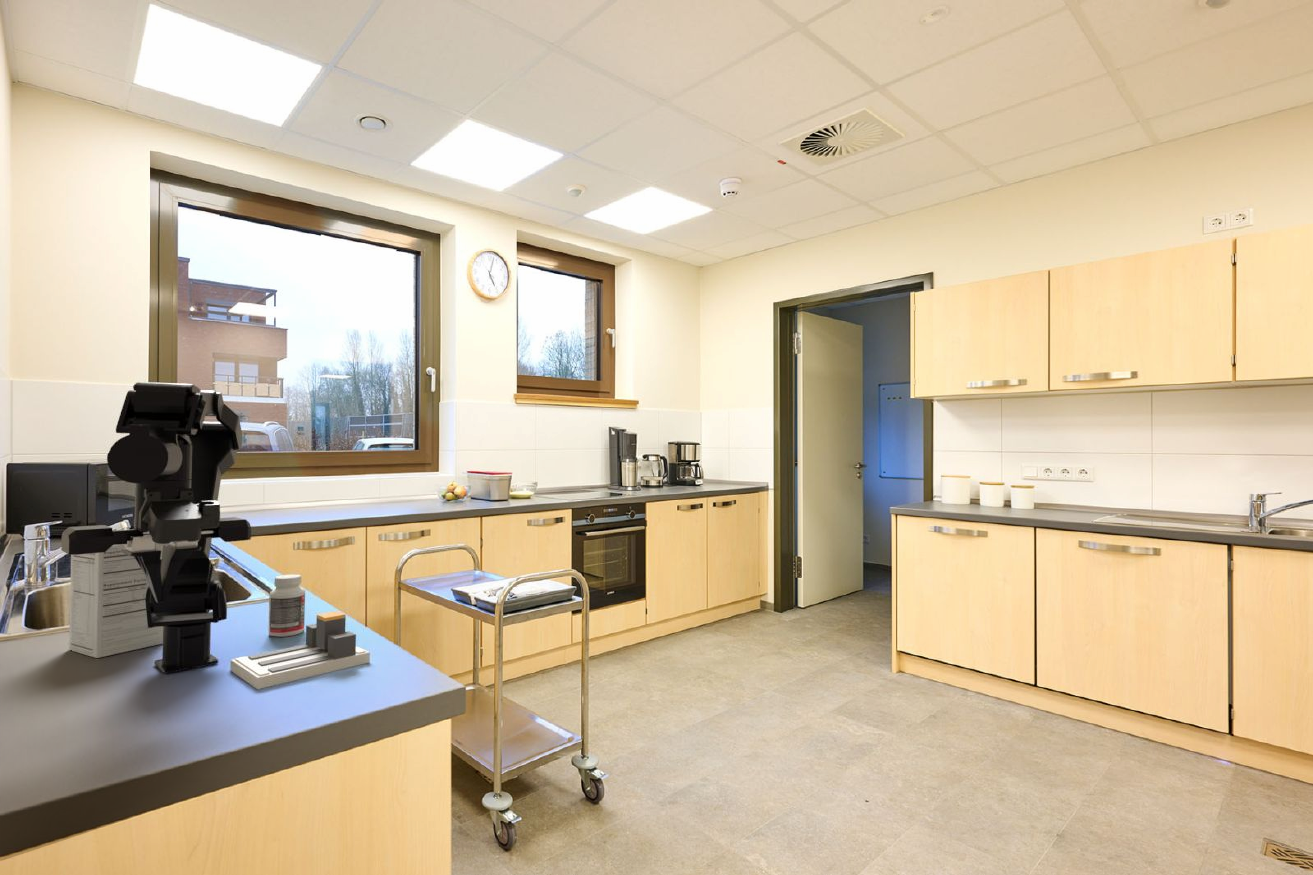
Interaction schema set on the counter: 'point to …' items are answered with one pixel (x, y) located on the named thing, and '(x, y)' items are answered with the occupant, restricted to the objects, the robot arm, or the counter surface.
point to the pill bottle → (286, 606)
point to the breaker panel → (300, 660)
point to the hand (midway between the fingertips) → (160, 602)
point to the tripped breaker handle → (328, 627)
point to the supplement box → (109, 604)
